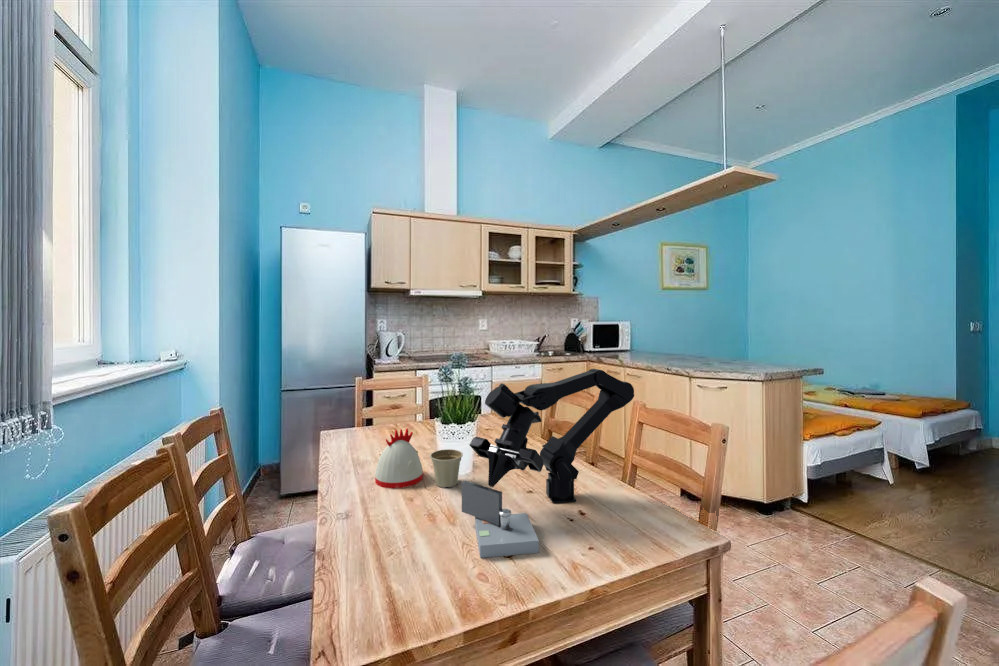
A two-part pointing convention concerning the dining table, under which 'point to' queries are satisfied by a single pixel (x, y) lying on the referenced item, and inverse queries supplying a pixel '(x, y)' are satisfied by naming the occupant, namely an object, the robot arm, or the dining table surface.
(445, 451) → the flower pot
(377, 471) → the grey and red dome
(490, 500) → the gray pivoting panel
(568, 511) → the dining table surface
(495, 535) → the gray square base
